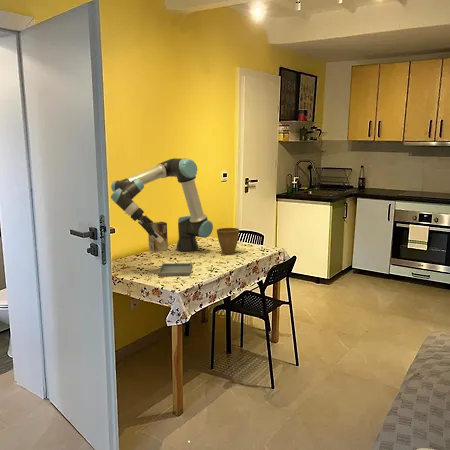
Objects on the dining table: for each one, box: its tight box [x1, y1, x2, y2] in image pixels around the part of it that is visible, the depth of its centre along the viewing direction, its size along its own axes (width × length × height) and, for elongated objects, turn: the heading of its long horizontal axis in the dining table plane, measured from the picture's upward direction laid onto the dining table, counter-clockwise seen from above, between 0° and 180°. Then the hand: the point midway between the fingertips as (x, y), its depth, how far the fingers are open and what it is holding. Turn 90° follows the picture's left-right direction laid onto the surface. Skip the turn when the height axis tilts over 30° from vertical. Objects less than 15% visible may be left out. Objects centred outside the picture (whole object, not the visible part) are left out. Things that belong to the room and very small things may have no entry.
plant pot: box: [216, 227, 240, 255], centre depth 298 cm, size 15×15×16 cm
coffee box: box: [147, 221, 169, 254], centre depth 255 cm, size 9×6×16 cm
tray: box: [157, 262, 193, 277], centre depth 258 cm, size 20×18×2 cm
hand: (163, 239), depth 255 cm, fingers closed on coffee box, 10 cm apart
